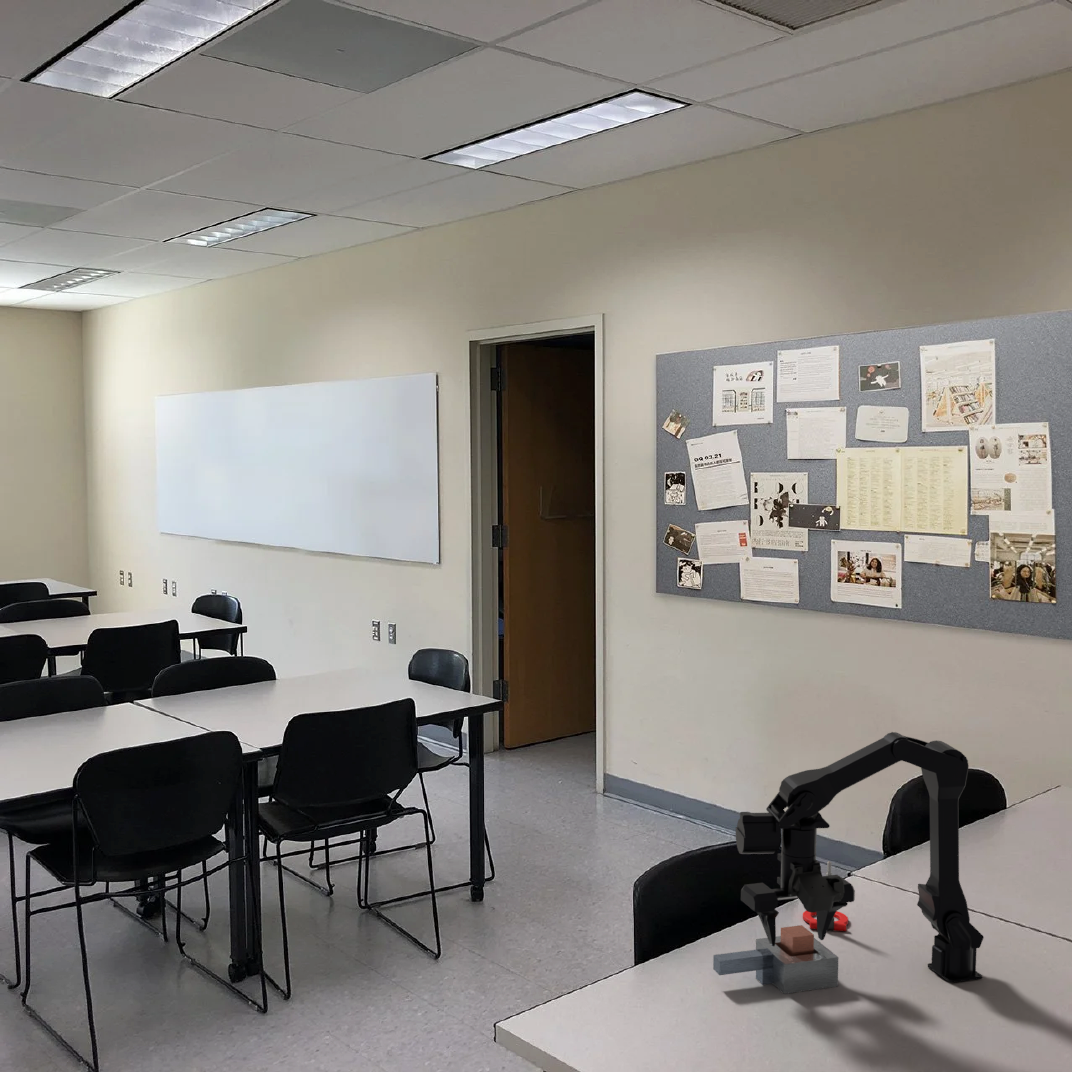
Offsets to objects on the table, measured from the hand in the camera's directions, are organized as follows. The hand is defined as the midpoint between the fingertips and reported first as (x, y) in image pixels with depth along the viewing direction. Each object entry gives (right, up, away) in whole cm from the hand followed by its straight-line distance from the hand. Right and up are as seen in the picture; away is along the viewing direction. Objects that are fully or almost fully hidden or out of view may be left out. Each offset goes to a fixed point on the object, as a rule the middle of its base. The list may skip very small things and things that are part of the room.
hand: (796, 942), depth 187 cm
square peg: (0, -6, 0) cm, 6 cm away
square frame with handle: (-5, -6, -1) cm, 8 cm away
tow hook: (+11, -5, +23) cm, 26 cm away
